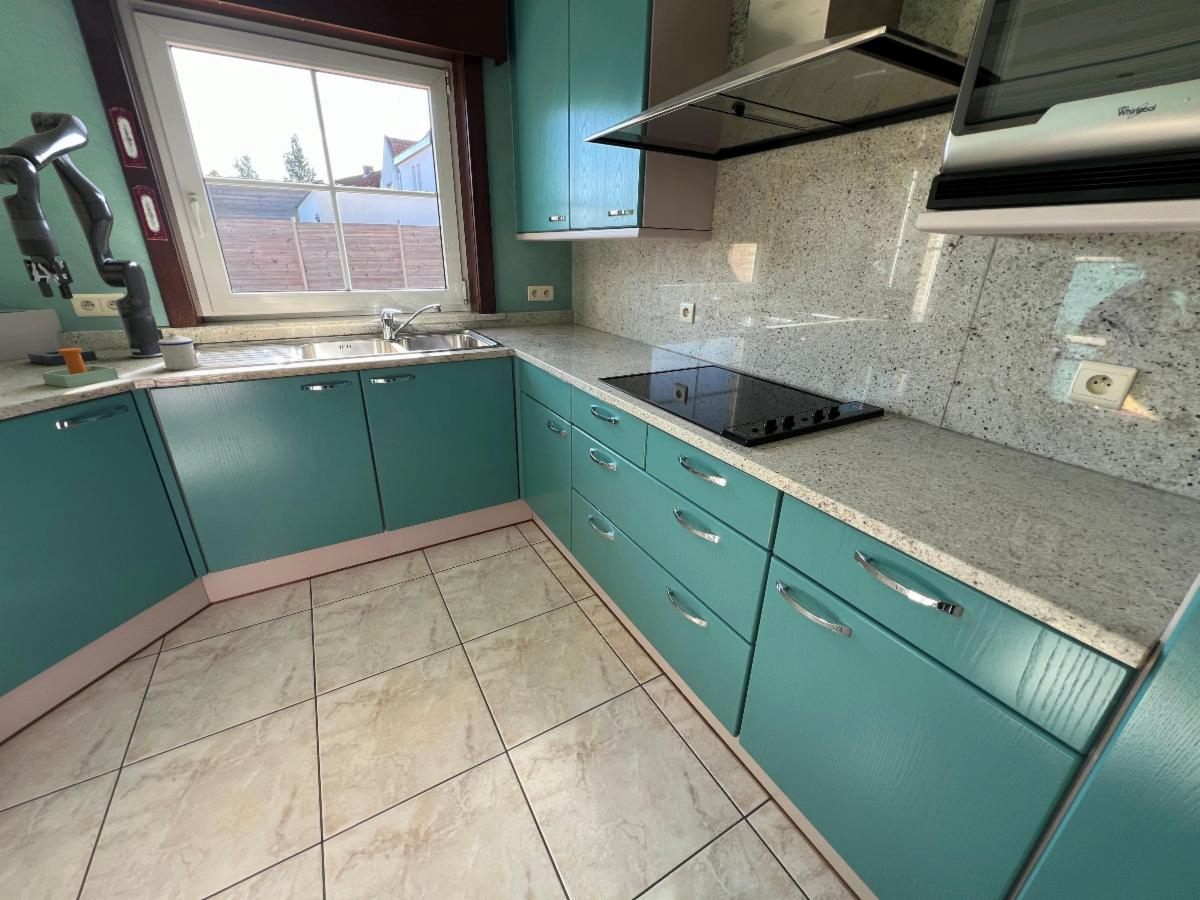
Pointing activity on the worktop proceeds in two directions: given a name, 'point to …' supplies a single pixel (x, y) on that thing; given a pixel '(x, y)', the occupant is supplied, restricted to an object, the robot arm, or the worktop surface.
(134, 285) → the robot arm
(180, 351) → the teacup with lid
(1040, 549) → the worktop surface
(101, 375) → the tray
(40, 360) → the drain plate
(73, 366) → the plug
